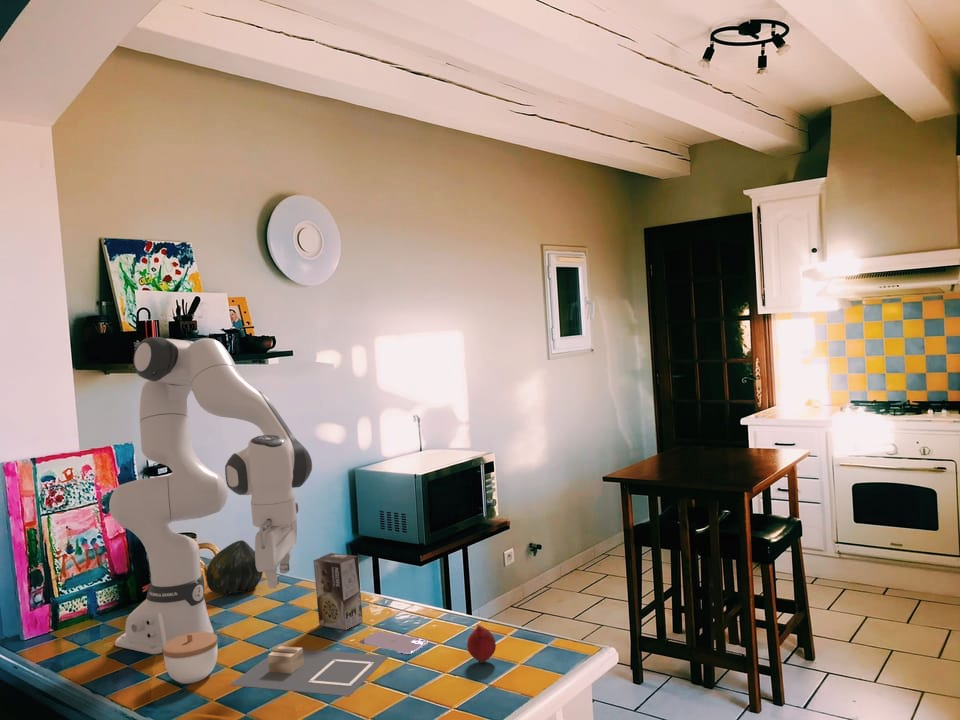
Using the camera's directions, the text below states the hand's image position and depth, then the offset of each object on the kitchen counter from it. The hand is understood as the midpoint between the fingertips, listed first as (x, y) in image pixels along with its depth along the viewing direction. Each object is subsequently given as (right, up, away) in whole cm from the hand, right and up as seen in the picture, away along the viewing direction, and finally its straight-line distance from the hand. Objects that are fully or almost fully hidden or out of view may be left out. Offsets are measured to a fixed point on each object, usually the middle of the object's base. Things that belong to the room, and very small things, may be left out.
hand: (279, 579), depth 157 cm
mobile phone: (+23, -18, +10) cm, 31 cm away
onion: (+42, -16, -3) cm, 46 cm away
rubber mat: (+7, -19, -1) cm, 20 cm away
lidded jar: (-18, -21, 0) cm, 27 cm away
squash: (-27, -20, +55) cm, 64 cm away
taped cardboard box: (+1, -19, +1) cm, 19 cm away
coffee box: (+8, -18, +25) cm, 32 cm away
